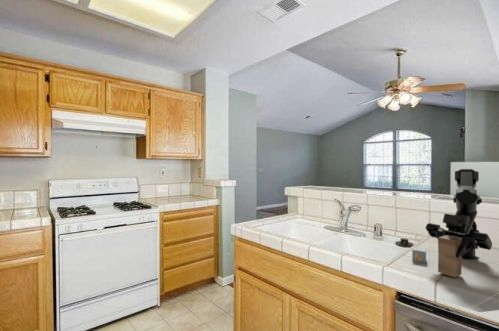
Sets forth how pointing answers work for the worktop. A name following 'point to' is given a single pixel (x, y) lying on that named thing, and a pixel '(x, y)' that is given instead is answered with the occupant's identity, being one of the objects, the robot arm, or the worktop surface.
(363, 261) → the worktop surface
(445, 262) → the walnut post
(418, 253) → the letter block
